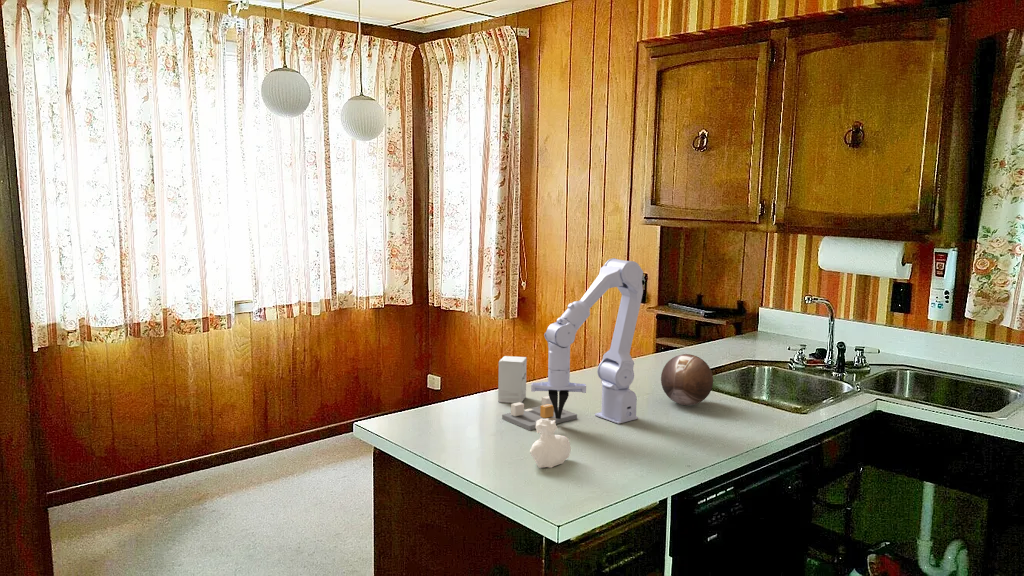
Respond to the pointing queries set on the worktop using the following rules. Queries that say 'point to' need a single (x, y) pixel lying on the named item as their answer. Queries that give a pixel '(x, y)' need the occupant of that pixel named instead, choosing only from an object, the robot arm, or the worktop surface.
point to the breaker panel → (533, 415)
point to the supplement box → (512, 379)
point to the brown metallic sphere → (687, 379)
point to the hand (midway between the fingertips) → (558, 417)
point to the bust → (549, 445)
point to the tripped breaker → (546, 411)
